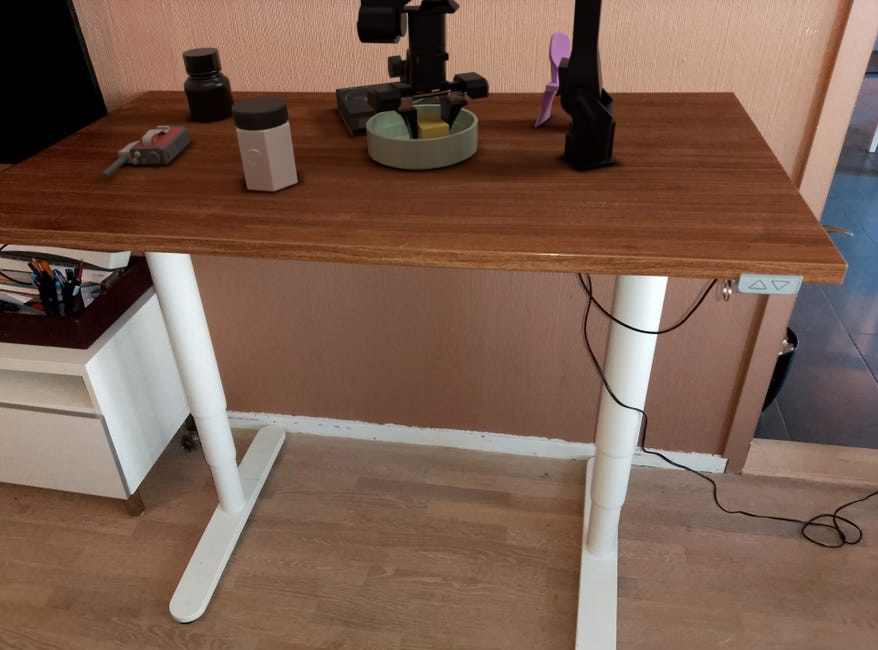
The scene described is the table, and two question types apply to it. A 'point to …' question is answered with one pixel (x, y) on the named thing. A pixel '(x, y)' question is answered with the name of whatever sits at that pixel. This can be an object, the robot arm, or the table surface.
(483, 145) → the table surface
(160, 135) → the walkie-talkie
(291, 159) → the jar
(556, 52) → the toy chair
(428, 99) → the portable cd player
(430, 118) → the sponge
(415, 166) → the bowl
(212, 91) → the ink bottle
